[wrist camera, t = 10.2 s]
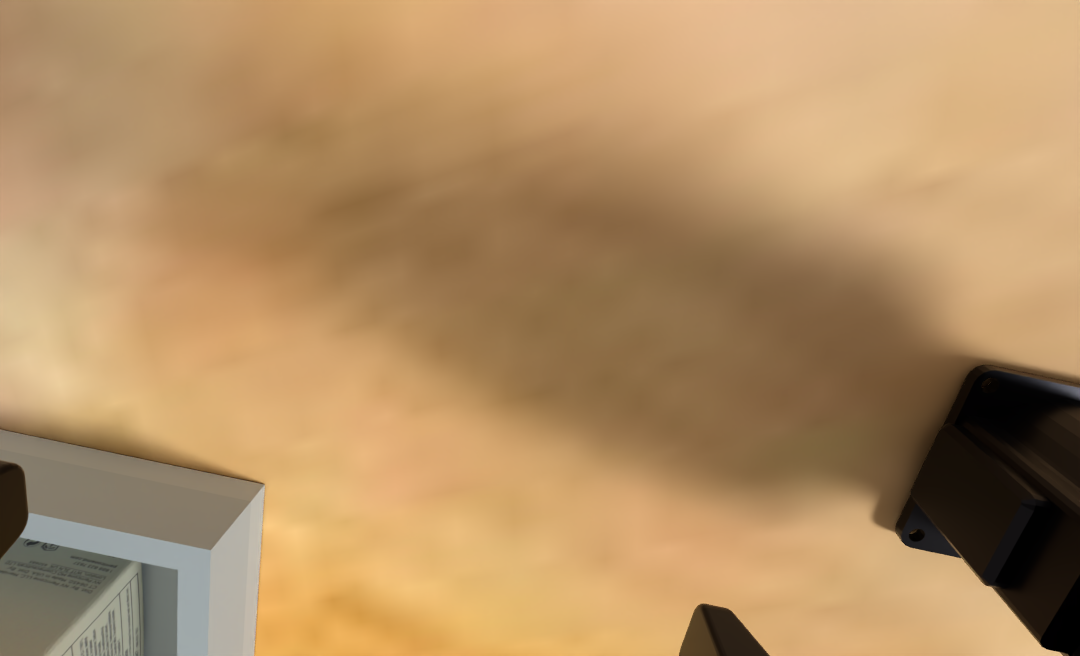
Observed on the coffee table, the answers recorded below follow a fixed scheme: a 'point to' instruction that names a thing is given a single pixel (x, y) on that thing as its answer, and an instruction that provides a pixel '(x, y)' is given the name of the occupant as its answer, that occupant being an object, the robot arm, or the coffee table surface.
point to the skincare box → (69, 602)
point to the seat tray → (154, 537)
